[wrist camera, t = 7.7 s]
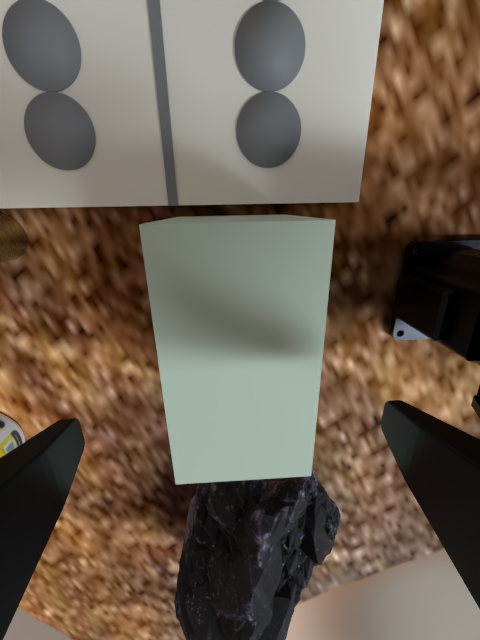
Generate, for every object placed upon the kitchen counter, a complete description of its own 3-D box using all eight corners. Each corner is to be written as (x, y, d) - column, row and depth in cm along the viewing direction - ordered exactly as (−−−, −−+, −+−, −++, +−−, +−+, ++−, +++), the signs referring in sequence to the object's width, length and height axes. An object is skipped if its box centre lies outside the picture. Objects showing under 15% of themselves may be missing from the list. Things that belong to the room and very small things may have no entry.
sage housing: (282, 214, 17) (335, 219, 9) (277, 373, 21) (311, 476, 13) (179, 216, 17) (138, 224, 9) (194, 377, 20) (175, 484, 13)
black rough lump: (335, 431, 24) (391, 561, 15) (332, 549, 28) (376, 712, 18) (177, 438, 25) (133, 566, 15) (196, 552, 29) (170, 711, 19)
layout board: (387, -134, 12) (674, -731, 4) (349, 202, 17) (455, 197, 9) (-117, -152, 11) (-857, -933, 4) (-6, 208, 16) (-218, 209, 8)
